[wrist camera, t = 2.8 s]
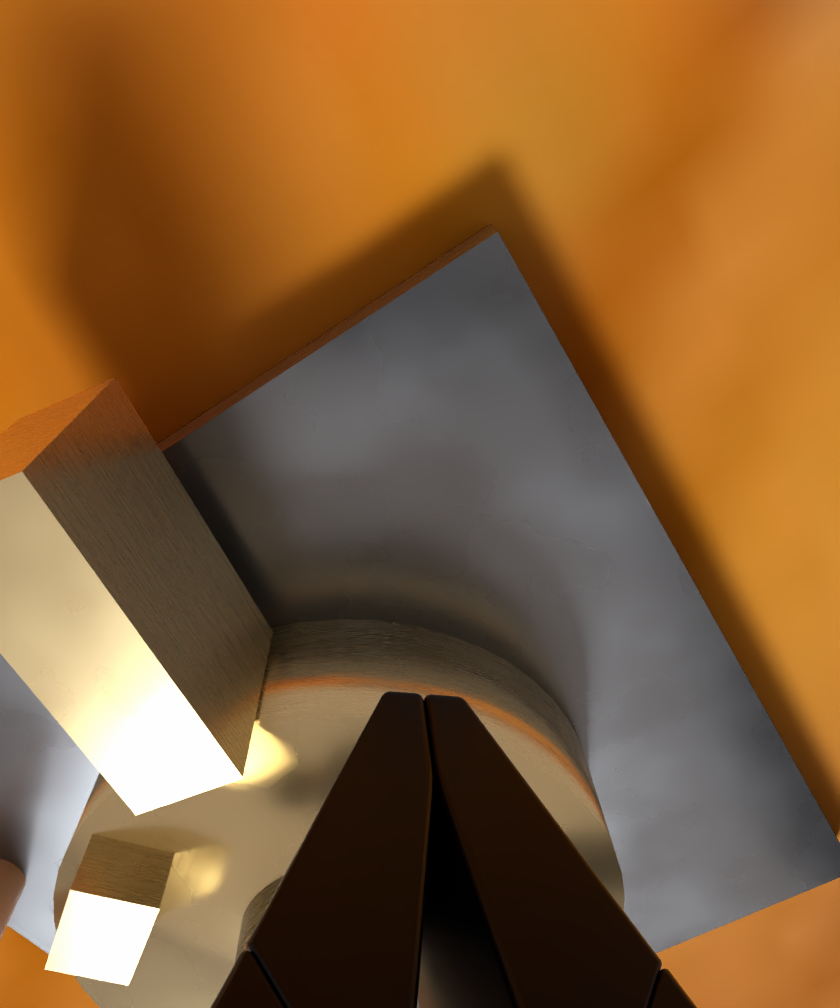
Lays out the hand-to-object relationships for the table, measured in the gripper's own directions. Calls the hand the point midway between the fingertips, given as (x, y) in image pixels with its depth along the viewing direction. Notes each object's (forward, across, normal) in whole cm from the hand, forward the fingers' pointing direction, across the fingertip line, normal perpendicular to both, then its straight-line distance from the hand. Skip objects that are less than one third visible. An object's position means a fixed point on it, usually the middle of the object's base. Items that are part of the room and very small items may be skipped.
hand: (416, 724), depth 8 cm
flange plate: (+9, 0, +10) cm, 13 cm away
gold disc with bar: (+7, +2, +7) cm, 11 cm away
